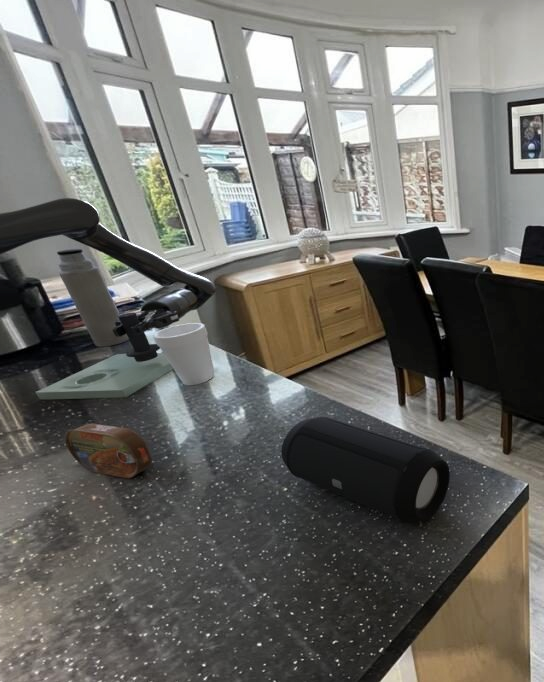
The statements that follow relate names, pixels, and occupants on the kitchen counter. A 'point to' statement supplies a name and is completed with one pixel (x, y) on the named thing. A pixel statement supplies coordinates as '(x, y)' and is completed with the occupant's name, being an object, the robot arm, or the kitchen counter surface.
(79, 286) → the thermos bottle
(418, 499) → the portable speaker
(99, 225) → the robot arm
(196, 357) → the foam cup
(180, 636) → the kitchen counter surface
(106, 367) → the plate
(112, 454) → the tin
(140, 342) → the stopper
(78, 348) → the kitchen counter surface
